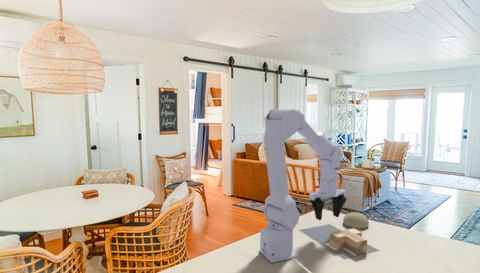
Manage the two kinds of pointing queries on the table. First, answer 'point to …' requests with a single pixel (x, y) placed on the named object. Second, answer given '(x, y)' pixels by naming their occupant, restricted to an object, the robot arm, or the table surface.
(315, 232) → the T board
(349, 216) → the sea urchin shell
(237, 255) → the table surface
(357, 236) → the T block
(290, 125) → the robot arm
